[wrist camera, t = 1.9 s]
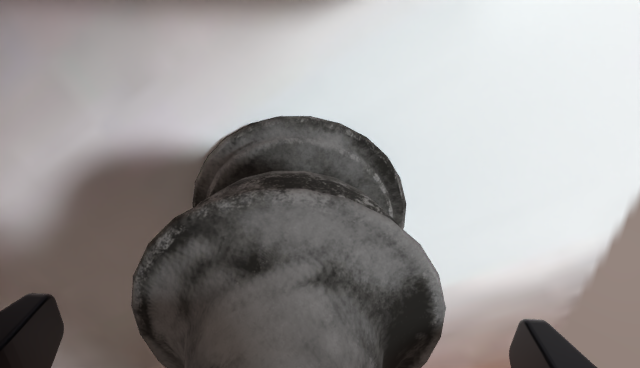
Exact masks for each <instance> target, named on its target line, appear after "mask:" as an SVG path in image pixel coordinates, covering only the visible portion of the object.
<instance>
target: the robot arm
mask: <svg viewBox="0 0 640 368" xmlns="http://www.w3.org/2000/svg"><path fill="white" fill-rule="evenodd" d="M63 332H64V325H63V321H62V318H61V315H60V312H59V309H58V306H57V303H56V300H55V298H54V297H53V296H52V295H50V294H36V293H31V294H28V295H26V296H24V297H22V298H21V299H19V300H17V301H16V302H14V303H13V304H11V305H10V306H8V307H7V308H5V309H4V310H2V311H0V368H51V366H52V364H53V361H54V358H55V356H56V353H57V350H58V348H59V345H60V342H61V340H62V337H63ZM509 359H510V365H511V368H597V367H596V366H595V365H593V364H592V363H591V362H590V361H589V360H588V359H587V358H586V357H585V356H583V355H582V354H581V353H580V352H579V351H578V350H577V349H576V348H575V347H574V346H573V345H571V344H570V343H569V342H568V341H567V340H566V339H565V338H564V337H563V336H562V335H561V334H559V333H558V332H557V331H556V330H555V329H554V328H553V327H552V326H551V325H550V324H548V323H547V322H546V321H544V320H536V319H523V320H521V321H520V323H519V325H518V327H517V330H516V333H515V335H514V338H513V341H512V343H511V346H510V350H509Z"/></svg>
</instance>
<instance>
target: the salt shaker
mask: <svg viewBox="0 0 640 368" xmlns="http://www.w3.org/2000/svg"><path fill="white" fill-rule="evenodd" d="M405 212H406V201H405V197H404V193H403V188H402V184H401V180H400V177H399V175H398V174H397V172H396V170H395V169H394V167H393V165H392V164H391V162H390V160H389V159H388V157H387V156H386V155H385V154H384V153H383V152H382V151H381V150H380V149H379V148H378V147H377V146H375V145H374V144H373V143H372V142H371V141H370V140H369V139H368V138H367V137H365V136H363V135H361V134H359V133H357V132H355V131H354V130H352V129H350V128H348V127H346V126H344V125H342V124H340V123H336V122H332V121H327V120H323V119H319V118H315V117H311V116H291V117H276V118H272V119H268V120H264V121H260V122H256V123H252V124H250V125H248V126H246V127H244V128H242V129H241V130H239V131H237V132H235V133H234V134H232V135H230V136H228V137H227V138H225V139H224V140H223V141H222V142H221V143H220V144H219V145H218V146H217V148H216V149H215V150H214V151H213V152H212V153H211V154H210V155H209V156H208V157H207V159H206V161H205V163H204V165H203V167H202V169H201V171H200V173H199V175H198V177H197V179H196V182H195V190H194V197H193V209H191V210H189V211H187V212H185V213H183V214H181V215H179V216H177V217H175V218H174V219H173V220H172V221H171V222H170V223H169V224H168V225H167V226H166V227H165V228H164V229H163V230H162V231H161V232H160V233H159V234H158V235H157V236H156V237H155V238H154V239H153V240H152V241H151V242H150V243H149V244H148V246H147V248H146V250H145V252H144V254H143V256H142V258H141V261H140V263H139V265H138V267H137V269H136V271H135V273H134V275H133V287H132V304H131V306H132V309H133V313H134V316H135V319H136V322H137V326H138V329H139V332H140V335H141V336H142V338H143V339H144V341H145V342H146V343H147V345H148V346H149V348H150V349H151V351H152V352H153V354H154V355H155V356H156V358H157V359H158V361H159V362H160V363H161V364H163V365H164V366H165V367H166V368H421V367H422V366H423V365H424V364H425V363H426V362H427V360H428V359H429V357H430V355H431V353H432V352H433V350H434V348H435V346H436V344H437V343H438V341H439V339H440V337H441V333H442V327H443V322H444V316H445V310H446V307H445V302H444V297H443V292H442V288H441V283H440V278H439V274H438V272H437V271H436V269H435V268H434V266H433V264H432V263H431V261H430V259H429V258H428V256H427V255H426V253H425V251H424V250H423V248H422V247H421V245H420V244H419V243H418V242H417V241H416V240H414V239H413V238H412V237H411V236H410V235H409V234H407V233H406V232H405V231H404V230H403V228H404V223H405Z"/></svg>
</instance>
